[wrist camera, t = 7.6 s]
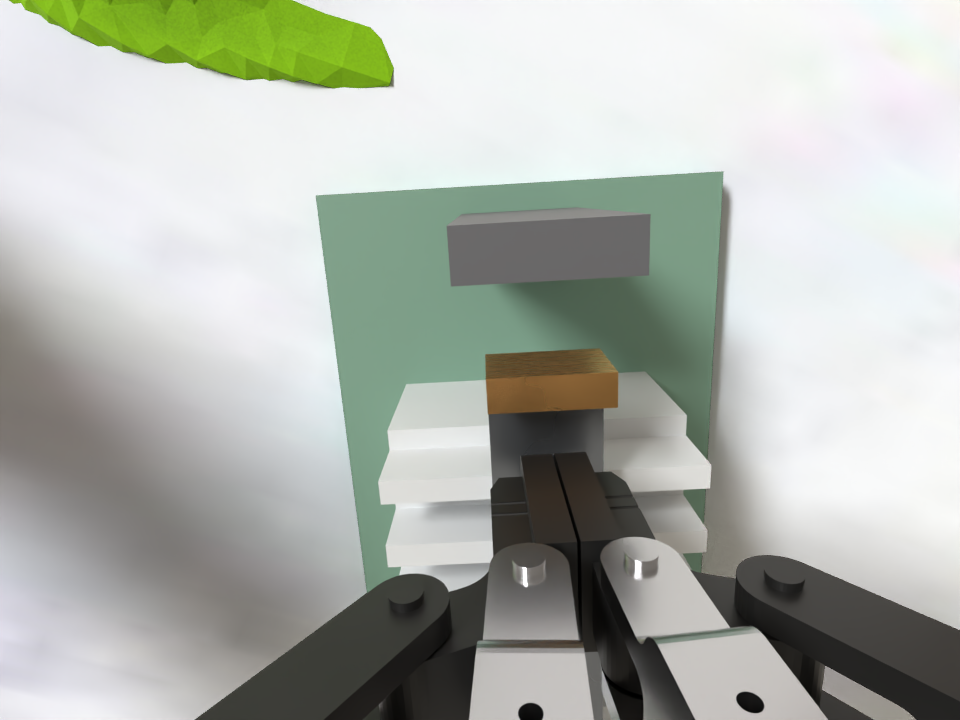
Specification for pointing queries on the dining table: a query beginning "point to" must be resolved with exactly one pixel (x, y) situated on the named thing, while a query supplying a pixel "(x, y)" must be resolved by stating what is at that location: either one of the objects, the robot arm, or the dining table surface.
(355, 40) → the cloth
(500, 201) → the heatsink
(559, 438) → the wood-capped grey post
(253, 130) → the dining table surface
